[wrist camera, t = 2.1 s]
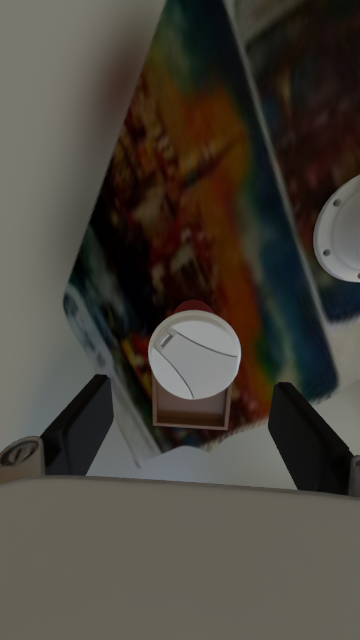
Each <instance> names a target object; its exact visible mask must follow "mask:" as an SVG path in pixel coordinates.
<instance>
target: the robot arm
mask: <svg viewBox="0 0 360 640" xmlns="http://www.w3.org/2000/svg"><path fill="white" fill-rule="evenodd" d="M333 204H334V205H333ZM313 246H314V251H315V255H316V257H317V260H318V262H319V263H320V265H321V266H322V268H323V269H324V270H325V271H326V272H328V273H329V274H330V275H332V276H334V277H335V278H337V279H340V280H344V281H350V282H360V175H358V176H356V177H354V178H353V179H351V180H349V181H348V182H346V183H345V184H344V185H342V186H341V187H340V188H339V189H338V190H337V191H335V192H334V193H333V194H332V195H331V197H330V198H329V199H328V201H327V202H326V203H325V205H324V206H323V208H322V210H321V212H320V213H319V216H318V218H317V221H316V224H315V229H314V234H313ZM323 252H324V254H323ZM113 418H114V414H113V403H112V392H111V381H110V378H109V377H107V375H102V374H96V375H95V376H94V377H93V378H92V379H91V380H90V381H89V383H88V384H87V385H86V386H85V387H84V388H83V389H82V390H81V391H80V392H79V394H78V395H77V396H76V397H75V398H74V399H73V400H72V401H71V403H69V404H68V406H67V407H66V408H65V409H64V410H63V411H62V412H61V413H60V414H59V416H58V417H57V418H56V419H55V420H54V421H53V422H52V423H51V425H49V427H48V428H47V429H46V430H45V431H44V432H43V434H42V435H41V436H40V437H39V436H28V437H25V438H22V439H19V440H17V441H15V442H13V443H12V444H10V445H9V446H7V447H6V448H5V449H4V450H3V451H2V452H1V453H0V640H360V455H356V456H354V455H353V454H352V453H351V452H350V451H349V447H348V446H347V445H346V444H345V443H344V442H343V441H342V439H341V438H340V437H339V436H338V435H337V434H336V433H335V432H334V431H333V429H332V428H331V427H330V426H329V425H328V424H327V423H326V422H325V420H324V419H323V418H322V417H321V416H320V415H319V414H318V413H317V412H316V410H315V409H314V408H313V407H312V406H311V405H310V404H309V403H308V402H307V400H306V399H305V398H304V397H303V396H302V395H301V394H300V393H299V391H298V390H297V389H296V388H295V387H294V386H293V385H292V384H291V383H289V382H278V384H277V385H275V386H274V391H273V397H272V403H271V409H270V415H269V421H268V429H269V432H270V434H271V436H272V438H273V440H274V442H275V444H276V446H277V448H278V450H279V453H280V455H281V457H282V459H283V461H284V463H285V465H286V467H287V469H288V471H289V473H290V475H291V477H292V479H293V481H294V483H295V485H296V487H297V489H298V490H291V489H278V488H264V487H251V486H238V485H223V484H210V483H195V482H180V481H166V480H148V479H134V478H117V477H99V476H86V474H87V472H88V470H89V468H90V466H91V464H92V462H93V460H94V458H95V456H96V454H97V452H98V450H99V448H100V446H101V444H102V442H103V440H104V438H105V436H106V434H107V432H108V430H109V429H110V426H111V424H112V422H113Z"/></svg>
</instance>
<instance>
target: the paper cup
mask: <svg viewBox="0 0 360 640" xmlns="http://www.w3.org/2000/svg"><path fill="white" fill-rule="evenodd" d="M148 357H149V362H150V366H151V368H152V371H153V373H154V376H155V377H156V379H157V381H158V382H159V383H160V384H161V385H162V387H164V388H165V389H166V390H167V391H169V392H170V393H172V394H173V395H176V396H178V397H181V398H184V399H190V400H195V399H202V398H207V397H211V396H213V395H216V394H217V393H219V392H221V391H223V390H224V389H226V388H227V387H228V386H229V385H230V384H231V382H232V381H233V379H234V377H235V376H236V374H237V373H238V368H239V363H240V359H241V348H240V343H239V340H238V337H237V335H236V333H235V332H234V330H233V329H232V328H231V326H230V325H229V324H228V323H227V322H226V321H224V320H223V319H221V318H220V317H218V316H217V315H216V314H215V313H214V312H213V311H212V310H211V308H210V307H209V306H208V305H207V304H205V303H204V302H202V301H200V300H196V299H191V300H187V301H184V302H183V303H181V304H180V305H179V306H178V307H177V308H176V310H175V311H174V312H173V313H172V315H171V316H170V317H168V318H167V319H165V320H164V321H163V322H162V323H161V324H160V325H159V326H158V327H157V328H156V330H155V331H154V333H153V335H152V337H151V339H150V343H149V348H148Z"/></svg>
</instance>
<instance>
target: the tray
mask: <svg viewBox="0 0 360 640" xmlns="http://www.w3.org/2000/svg"><path fill="white" fill-rule="evenodd" d="M231 390H232V382H231V384H230V385H229V386H228V387H227V388H226V389H224V390H223V391H221V392H219V393H217V394H216V395H213V396H211V397H207V398H202V399H195V400H190V399H184V398H181V397H178V396H176V395H173V394H172V393H170V392H169V391H167V390H166V389H165V388H164V387H162V385H161V384H160V383H159V382H158V381H157V379H156V377H155V376H154V373H153V371H152V403H153V425H156V426H171V427H187V428H202V429H217V430H228V420H229V410H230V400H231Z"/></svg>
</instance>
